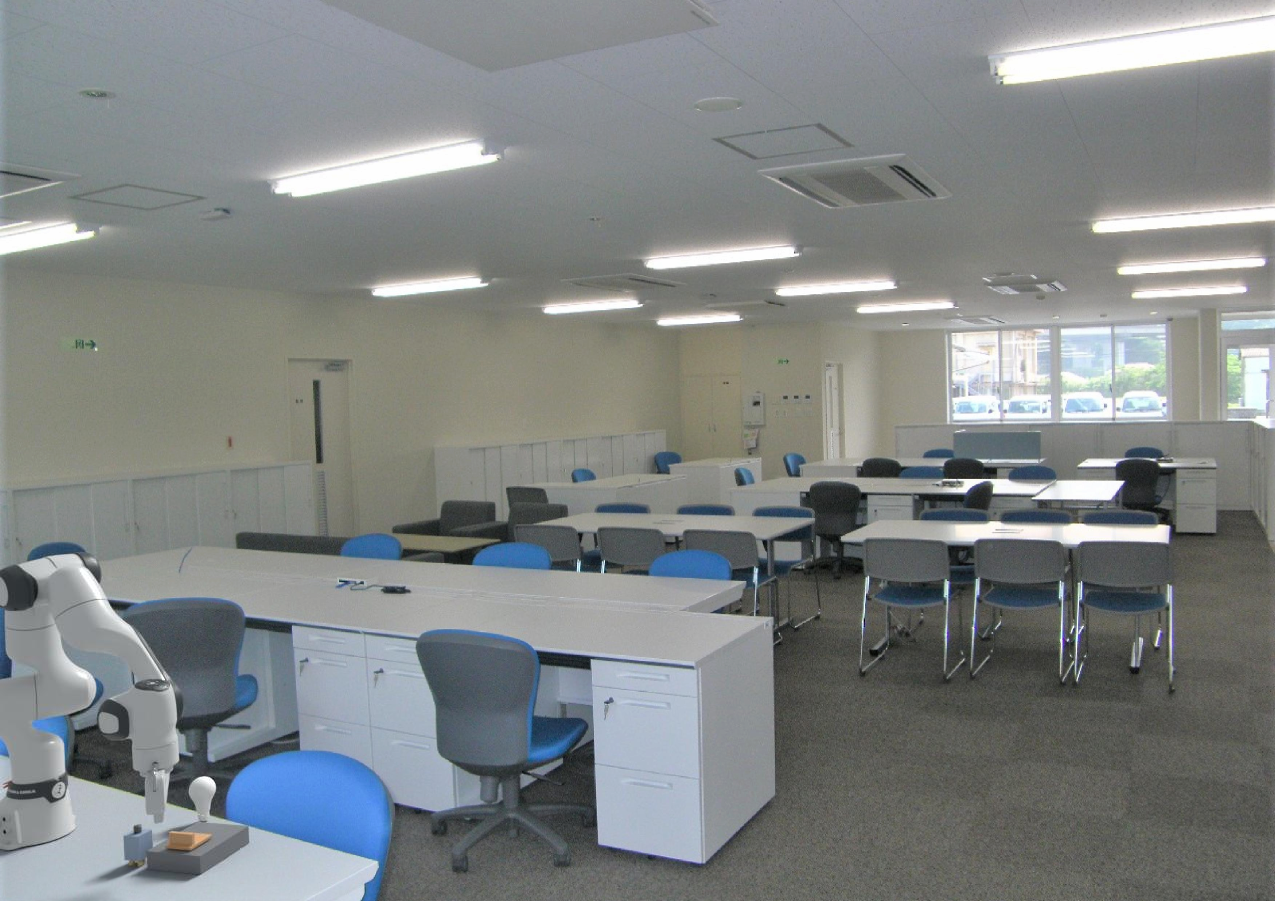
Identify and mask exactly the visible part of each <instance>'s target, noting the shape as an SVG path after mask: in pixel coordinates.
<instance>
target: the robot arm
mask: <svg viewBox="0 0 1275 901" xmlns="http://www.w3.org/2000/svg"><path fill="white" fill-rule="evenodd" d="M101 568H102V567H101V565H100V563H99V561H98V560H97V558H96V557H95V556H94V555H93V554H91V553H90V552H86V551H85V552H84V551H77V552H76V551H73V552H71V553H67V554H65V553H64V554H55V555H48V556H43V557H41V558H38V559H34V560H33V559H32V560H28V561H25V562H22V563H20V564H12V565H11V564H10V565H8V566H6V567H3V568H1V569H0V608H1V609H3V610H4V637H5V638H4V639H5V640H4V641H5V653H6V655H7V657H8V658H9V659H10V660H11V661H13V662H14V663H16V664H18V665H22V666H25V667H29V668H31V669H34V670H35V671H37V672H36V673H33V674H27V675H21V676H14V677H13V676H12V677H5V678H1V679H0V739H1V740H2V741H3V743H4V745H5V747H6V749H7V752H8V756H9V762H10V764H9V765H10V771H11V772H10V773H11V780H9V781H8V782H4V783H2V785H5V786H3V787H2V789H6V788H7V791H6V794H5V796H4V797H3V798H2V799H1V800H0V850H3V851H11V850H16V849H20V848H23V847H29V846H34V845H39V844H40V845H41V844H44V843H48V842H52V841H54V840H57V839H60V838H62V837H65V836H66V835H68V834H70V833H72V832H73V831H74V830H75V829H76V828H77V825H76V823H75V821H76V820H77V818H76V815H75V814H73V806H72V801H71V800H72V799H71V795H70V790H69V789H68V786H69V774H68V770H67V769H66V758H65V757H66V756H65V743H64V741H63V739H62V738H61V736H59V735H57V734H54V733H52V732H48V731H44V730H40V729H37V728H35V727H34V726H33V722H35V721H37V720H38V721H39V720H44V719H45V720H46V719H49V718H55V717H61V716H67V715H71V714H73V713H77V712H79V711H82V710H84V709H86V708H87V709H88V707H90V706H91V704H92V702H93V701H94V699H95V698H96V694H97V682H96V680H95V679H94V676H93V675H92V674H91V673H90V671H87V670H86V669H84V668H82V667H79V666H78V665H76V664H75V663H74V662H72V661H71V660H70V658H69V657H68V656H67V654H66V653H65V651H64V648H63V645H62V640H63V641H64V642H65V643H66V644H67V645H68V646H70V647H72V648H73V649H76V650H79V651H82V652H89V653H90V652H91V653H99V654H100V653H101V654H106V655H111V656H114V657H117V658H118V659H121V660H123V661H124V662H125V663H126V664H127V666H128V667H129V669H130V671H132V673H133V675H134V676H135V678H136V680H137V682H136V683H134V684H133V685H132V686H131V688H129V689H128V690H126V691H125V692H122V693H120V694H117V695H114V696H112V697H111V696H110V697H109V698H106V699H105V700H104V701H103V702H102V703H101V705H100V707H99V708H98V710H97V715H96V724H97V728H98V731H99V733H100V734H101V735H102V736H103V737H105V738H106V739H108V740H110V741H111V742H115V741H125V740H127V739H130V740H131V741H132V742H131V743H132V745H131V749H132V750H131V752H132V753H131V754H132V769H133V770H134V771H136V772H139V776H140V777H142V778H144V780H145V781H144V800H145V801H144V802H145V803H144V804H145V812H146V815H147V816H149V815H150V816H151V815H153V823H154V824H162V823H163V822H164V819H165V818H164V817H165V811H166V808H167V801H168V791H169V783H170V776H171V772H172V771H173V770H174V765H176V764H178V762H179V761H180V753H179V736H178V734H177V730H176V725H177V724H178V723H179V721H180V720H181V719H182V717H183V715H184V712H185V710H186V707H187V706H186V705H187V701H186V697H185V694H184V692H183V690H182V689H181V688H180V687H179V686H178V684H176V682H175V681H173V679H172V678H171V677H170V676H169V675H168V673H167V671H166V670H165V669H164V667H163V666H162V664H161V663H160V661H159V659H158V658H157V656H156V654H155V653H154V652H153V650H152V649H151V647H150V646H149V644H148V642H147V641H146V640H145V638H144V637H143V635H142V634H141V632H139V630H138V629H137V628H136V627H135V626H134V625H133V624H130V623H127V622H126V621H125V620H123V619H122V618H121V616H119V615H118V614H117V613H116V611H115V610H114V609H113V607H112V606H111V604H110V602H109V600H108V597H107V595H106V594H105V592H104V590H103V588H102V586H101V585H100V584H101V581H102V569H101Z"/></svg>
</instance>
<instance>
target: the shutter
mask: <svg viewBox="0 0 1275 901" xmlns="http://www.w3.org/2000/svg"><path fill="white" fill-rule="evenodd" d="M212 837H213V834H202V833H190V832H188V833H187V832H181V831H173V830H171V831H169V832H168V838H169V844H167V845H165V848H169V849H180V850H190V851H191V850H192V849H194V848H196V847H197V846H199V845H200V844H202V843H204V842H205V841H207V840H209V839H210V838H212Z"/></svg>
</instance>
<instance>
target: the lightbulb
mask: <svg viewBox="0 0 1275 901" xmlns="http://www.w3.org/2000/svg"><path fill="white" fill-rule="evenodd" d="M216 790H217V786H216V783H215V781H214V780H213V779H212V778H211V777H209V776H205V775H204V776H199V777H197V778H195V779H194V780H193V781H192V782H191V783H190V785H189V789H188V795H189V797H190V799H191V800H192V802H193V803H194V806H195V810H196V811H195V812H196V813H197V819H198V821H199V822H206V821H207V820H208V819H209V818H208V817H207V816H209V817H210V810H211V804H212V799H213V797H214V796H215V794H216ZM198 814H200V815H198ZM201 815H204V816H201ZM205 816H206V817H205Z"/></svg>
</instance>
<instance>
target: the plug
mask: <svg viewBox="0 0 1275 901" xmlns="http://www.w3.org/2000/svg"><path fill="white" fill-rule="evenodd" d="M142 826H143V825H142V824H134V826H133V830H130V831H129V832H127V833H126V834H123V837H122V838H123V850H124V851H123V854H124V856H123V857H124V858H123V859H124V861H128V864H129V865H128V866H129V867H132V866H135V865H136V864H137V865H136V866H137V867H140V868H141V867H143V866H144V863H145V862H147V853H146V851H147V850H149V849H151V848H153V847H154V844H153V842H154V841H153V829H150V828H142ZM136 862H137V863H136Z"/></svg>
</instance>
